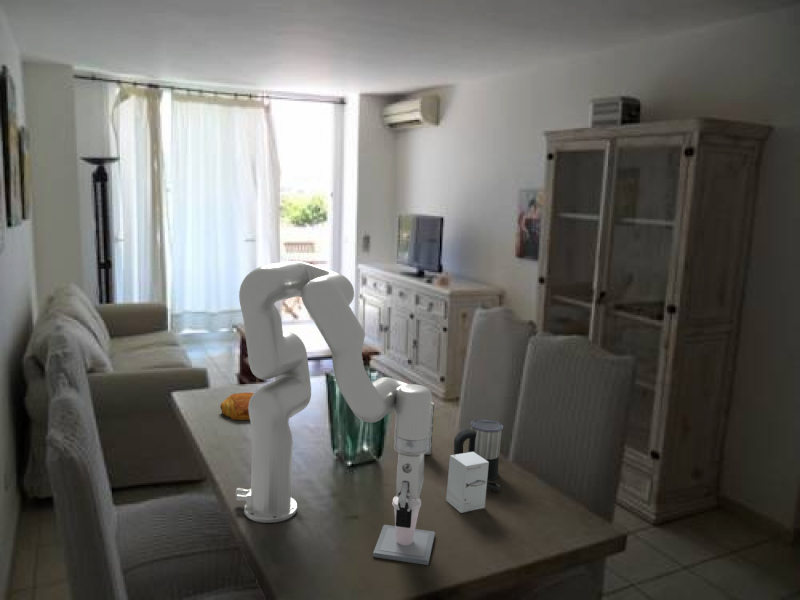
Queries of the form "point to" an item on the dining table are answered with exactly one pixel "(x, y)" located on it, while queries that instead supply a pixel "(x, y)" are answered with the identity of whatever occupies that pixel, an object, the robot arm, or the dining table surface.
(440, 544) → the dining table surface
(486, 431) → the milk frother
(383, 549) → the plate
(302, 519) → the dining table surface
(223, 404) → the croissant
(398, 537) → the smoothie
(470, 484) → the supplement box
